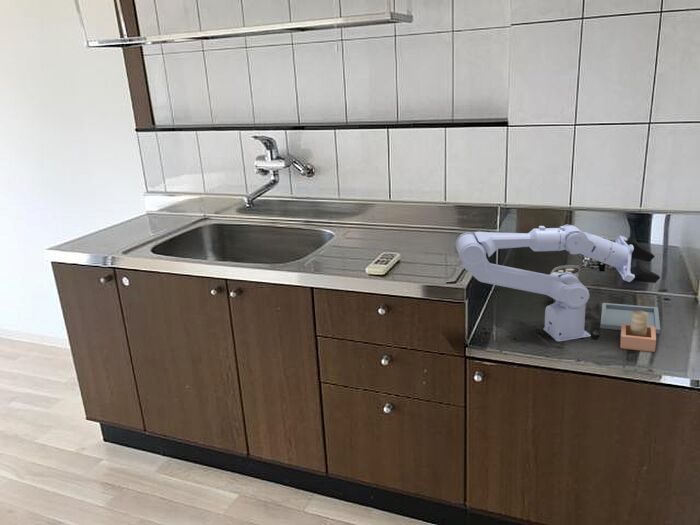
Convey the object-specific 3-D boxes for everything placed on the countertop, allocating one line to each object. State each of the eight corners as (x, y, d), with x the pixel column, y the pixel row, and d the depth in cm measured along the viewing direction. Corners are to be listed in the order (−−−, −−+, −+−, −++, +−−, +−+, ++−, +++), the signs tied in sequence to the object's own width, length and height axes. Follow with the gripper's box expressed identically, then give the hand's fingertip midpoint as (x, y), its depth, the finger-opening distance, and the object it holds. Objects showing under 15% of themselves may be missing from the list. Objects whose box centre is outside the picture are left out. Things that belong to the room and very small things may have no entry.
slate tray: (600, 330, 156) (600, 323, 156) (602, 308, 168) (602, 302, 167) (659, 336, 150) (660, 329, 150) (657, 313, 162) (657, 307, 162)
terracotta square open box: (620, 350, 146) (621, 336, 144) (620, 336, 152) (621, 323, 151) (654, 354, 142) (656, 340, 141) (653, 339, 149) (654, 326, 148)
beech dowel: (635, 347, 145) (637, 317, 142) (626, 340, 148) (628, 311, 146) (648, 344, 146) (651, 315, 143) (639, 338, 149) (641, 309, 146)
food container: (558, 292, 181) (559, 262, 178) (578, 296, 177) (580, 265, 174) (542, 307, 172) (543, 275, 169) (563, 311, 168) (564, 279, 165)
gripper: (618, 260, 140) (670, 279, 141) (611, 221, 150) (659, 239, 151) (601, 279, 145) (651, 297, 146) (595, 240, 155) (642, 257, 156)
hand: (654, 268), depth 149 cm, fingers open, 7 cm apart
